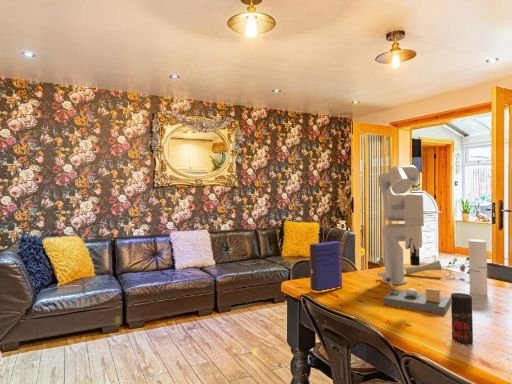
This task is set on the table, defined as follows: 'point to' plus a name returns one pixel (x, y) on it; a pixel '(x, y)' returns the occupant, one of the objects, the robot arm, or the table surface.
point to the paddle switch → (433, 295)
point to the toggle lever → (390, 283)
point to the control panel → (417, 302)
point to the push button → (411, 291)
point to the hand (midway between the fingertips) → (415, 265)
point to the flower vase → (432, 267)
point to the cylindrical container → (478, 267)
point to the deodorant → (462, 318)
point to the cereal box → (325, 265)
